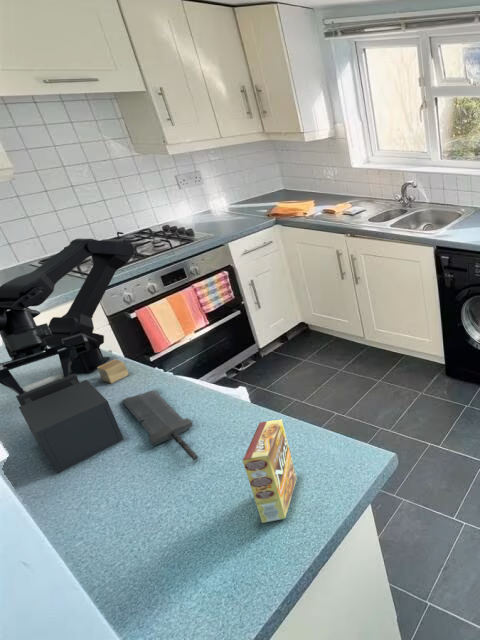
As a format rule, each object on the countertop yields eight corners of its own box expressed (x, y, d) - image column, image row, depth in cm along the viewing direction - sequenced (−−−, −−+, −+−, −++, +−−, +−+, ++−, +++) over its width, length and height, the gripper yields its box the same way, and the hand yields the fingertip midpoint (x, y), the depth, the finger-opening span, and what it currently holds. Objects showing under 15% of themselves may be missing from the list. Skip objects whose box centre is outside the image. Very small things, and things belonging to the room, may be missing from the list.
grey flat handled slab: (156, 390, 109) (154, 383, 108) (216, 450, 90) (213, 443, 89) (120, 405, 103) (117, 398, 102) (175, 473, 84) (172, 465, 83)
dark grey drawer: (26, 419, 96) (10, 388, 93) (81, 396, 104) (68, 366, 100) (47, 450, 88) (30, 417, 85) (105, 422, 96) (91, 391, 93)
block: (102, 379, 111) (96, 367, 110) (119, 371, 114) (114, 358, 113) (111, 383, 110) (106, 371, 108) (129, 374, 113) (124, 362, 112)
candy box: (286, 519, 76) (269, 455, 70) (260, 524, 75) (241, 460, 69) (297, 478, 84) (283, 418, 78) (274, 482, 83) (258, 421, 77)
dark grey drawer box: (39, 446, 91) (18, 407, 87) (103, 416, 99) (86, 379, 95) (57, 473, 84) (35, 432, 80) (123, 439, 93) (107, 400, 89)
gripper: (-55, 335, 86) (-26, 401, 84) (71, 302, 100) (99, 357, 98) (-40, 356, 93) (-13, 417, 91) (76, 323, 107) (102, 374, 105)
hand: (47, 390), depth 96 cm, fingers closed on dark grey drawer, 6 cm apart
